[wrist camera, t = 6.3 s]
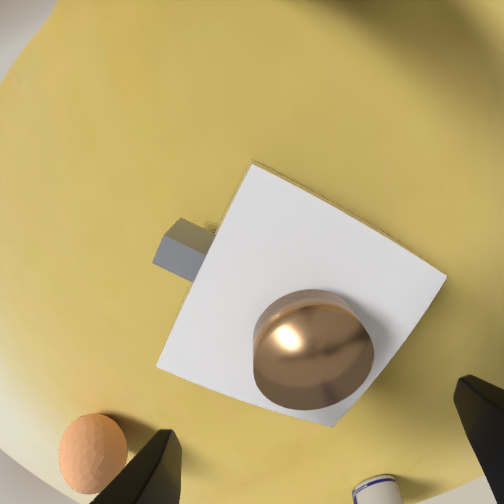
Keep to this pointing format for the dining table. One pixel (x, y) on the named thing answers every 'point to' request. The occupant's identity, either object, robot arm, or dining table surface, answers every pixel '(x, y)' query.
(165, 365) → the white box with hole
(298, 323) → the plunger
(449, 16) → the dining table surface
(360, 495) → the energy drink
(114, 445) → the egg
